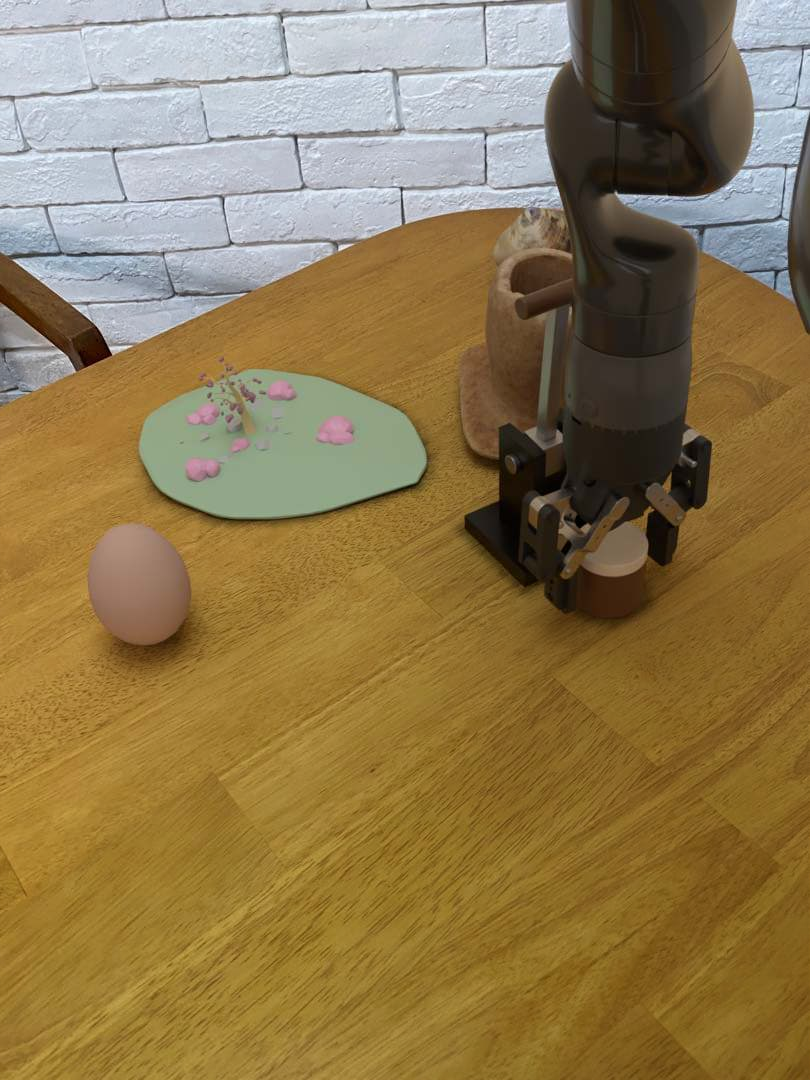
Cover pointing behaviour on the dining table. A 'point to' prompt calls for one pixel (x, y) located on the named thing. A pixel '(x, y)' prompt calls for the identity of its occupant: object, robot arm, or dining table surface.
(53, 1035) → the dining table surface
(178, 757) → the dining table surface
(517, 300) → the metal lever handle
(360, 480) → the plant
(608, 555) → the brown lidded jar
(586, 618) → the dining table surface
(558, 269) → the stone cup
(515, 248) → the seashell
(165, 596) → the egg
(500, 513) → the black angular piece
